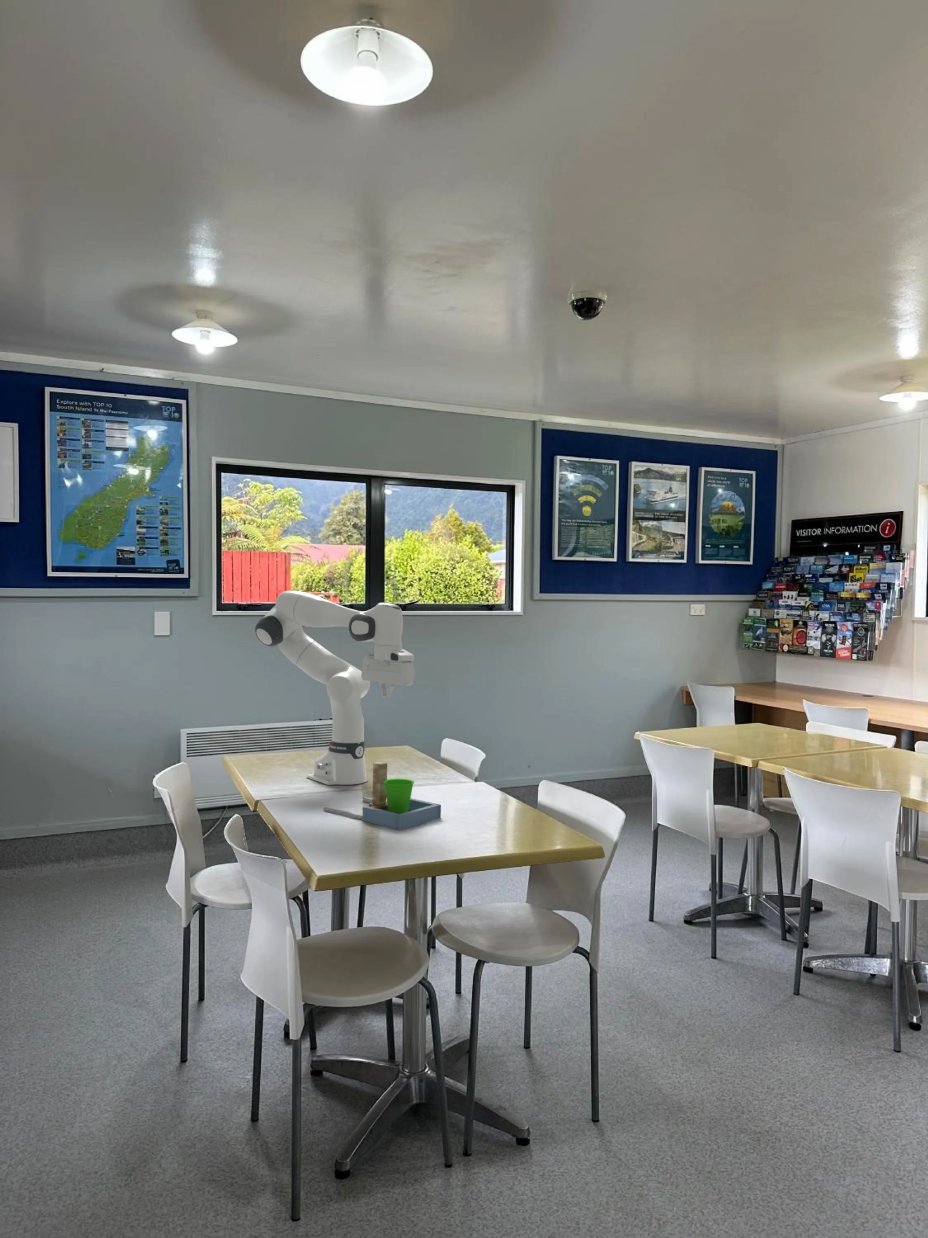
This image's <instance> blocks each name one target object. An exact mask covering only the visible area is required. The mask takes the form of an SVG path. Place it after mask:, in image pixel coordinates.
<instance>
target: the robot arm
mask: <svg viewBox="0 0 928 1238" xmlns="http://www.w3.org/2000/svg"><path fill="white" fill-rule="evenodd" d="M303 627H304V628H305V627H307V628H333V627H346V628H348V631H349V635H350V637H351V638H352V639H353V640H354V641H357V642H361V643H374V645H373V646H374V649H373V652H371V651H370V652H369V651H368V652H367V653H366V654H365V655H364V657H363V662H362V667H361V670H360V669H359V668H357V667H355V666H354V665H352V664H351V663H349V662H348V661H346V660H344V659H342V658H340V657H338V656H337V655H335V654H334V653H332V652H331V651H329V650H328V649H326V648H325V646H322V645H321V644H320V643H319V642H317V641H316V640H314V639H313V638H312V637H311V636H308V634H307V633H305V631H304V629H303ZM403 629H404V618H403V612H402V608H401V607H400V606H399V605H397V604H394V603H389V602H379V603H377V604H376V605H375V606H374V607H372V608H371V609H368V610H366V611H362V610H358V609H355V608H354V609H353V608H349V607H346V606H343V605H341V604H338V603H336V602H333V601H330V600H328V599H326V598H323V597H320V596H318V595H315V594H311V593H308V592H305V591H298V590H285V591H282V592H281V593H280V594H279V595H278V596H277V597H276V600H275V605H274V606H273V607H272V608H271V609H270V610H269V611H268V612H267V613H266V614H265V615H264V616H263V617H261V618H260V619H259V620H258V622H257V623H256V625H255V627H254V632H255V635H256V638H257V639H258V640H259V642H261V644H263V645H265V646H268V647H275V646H278V649H279V651H280V652H281V653H282V655H283V656H284V657H285V658H286V659H288V660H289V661H290V662H291V663H292V664H293V665H294V666H295V667H297V668H298V669H300V670H301V671H302V672H304V673H305V674H306V675H308V677H310V678H311V679H313V680H315V681H318V682H320V683H322V684H323V685H326V694H327V696H328V698H329V703H330V709H331V717H332V719H331V720H332V730H331V731H332V735H331V741H326V746H329V747H328V749H327V751H326V752H325V753H324V754H322V756H319V757H318V758H317V759H316V760H315V761H314V767H313V772H311V773H308V774H307V775H306V778H307V779H310V780H313V781H315V782H319V783H321V784H325V785H328V786H331V785H334V786H335V785H341V786H342V785H345V786H346V785H359V784H365V783H366V782H368V774H367V771H366V769H367V768H366V760H365V759H366V757H365V751H366V749H365V748H366V742H365V740H364V739H365V738H364V737H365V718H364V716H363V711H362V710H363V709H362V703H361V699H362V698H364V697H365V696H366V695H367V693H368V692H369V690H370V688H371V682H372V683H378V687H379V690H380V692H381V694H380V695H381V698H387V699H391V698H392V696H393V695H392V694H393V692H394V690H395V688H396V685H397V686H403V687H404V686H405V687H407V686H408V687H409V686H412V685H414V682H415V665H414V663H413V662H414V661H415V654H414V653H411V652H409V651H407V650H405V649H404V648H403V642H402V636H403V631H404V630H403ZM386 687H387V688H386Z"/></svg>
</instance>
